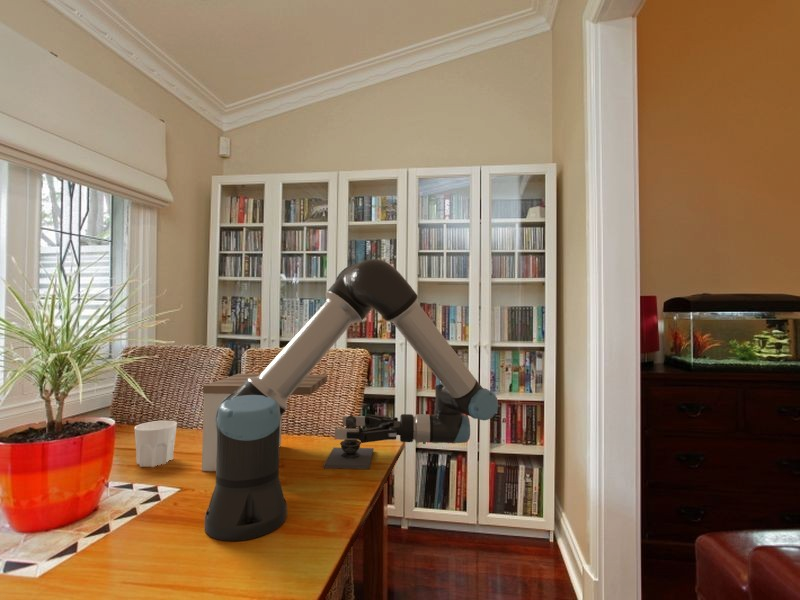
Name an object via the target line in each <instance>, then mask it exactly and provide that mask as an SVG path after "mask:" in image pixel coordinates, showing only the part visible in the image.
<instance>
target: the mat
mask: <svg viewBox="0 0 800 600" xmlns="http://www.w3.org/2000/svg"><path fill="white" fill-rule="evenodd" d="M373 451H374V447H359V450H358V451H357V453H358V454H360V456H359V457H358V458H355V459H345V458H342V457H341V455H342V454H343V453H345V452H344V451H343V450H342V448H341V447H335V446H334V447H333V448H332V450H331V451H330V453H329V455H328V457H327V458H326V460H325V462H324V464H323V469H339V468H343V469H345V470H346V469H347V470H349V469H352V470H370V467H371V463H372V458H373V456H374V455H373V454H374V452H375V451H374V452H373ZM372 455H373V456H372ZM343 469H342V470H343Z"/></svg>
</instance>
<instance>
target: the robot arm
mask: <svg viewBox="0 0 800 600" xmlns="http://www.w3.org/2000/svg"><path fill="white" fill-rule="evenodd" d="M325 298H326V299H325V302H324V303H323V304H322V305H321V306H320V307H319V308H318V310H316V312H315V313H314V314H313V315H312V316H311V318H310V319H309V320H308V321H307V322H306V323H305V324H304V325H303V326H302V327H301V329H300V330H299V331H298V332H297V333H296V334H295V335H294V336H293V337H292V339H291V340H290V341H288V343H287V344H286V345H285V346H284V347H283V349H282V350H280V352H279V353H278V354H277V355H276V356H275V357H274V359H272V361H271V362H270V363H269V364H268V365H267V366H266V367H265V368H264V369H263V370H262V372H261V373H259V374H260V375H259V376H257V377H249V378H248V379H247V380H246V381H245V382H244V383H243V384H242V385H241V386H240V387H239V388H238V390H237V391H235V392H234V393H232V394H230V395H229V396H228V397H226V398H225V399H224V400H223V402H222V403H221V404H220V406H219V408H218V411H217V415H216V428H217V459H216V471H215V486H214V490H213V492H212V494H211V498H210V501H209V505H208V508H207V509H206V512H205V514H204V532H205V533H206V534H207V535H208V536H209V537H210V538H213V539H214V540H215V539H216V540H219V541H224V542H226V541H228V542H235V541H236V542H237V541H238V542H239V541H240V542H241V541H246V540H251V539H256V538H259V537H263V536H266V535H268V534H270V533H272V532H275V531H276V530H277V529H279V527H281V526H282V525H283V524H284V523H285V521H286V520H287V517H288V513H287V512H288V503H287V501H286V498H285V496H284V491H283V488H282V485H281V481H280V478H279V475H280V473H279V472H280V470H279V469H280V448H279V433H280V420H281V421H282V418H281V415H283V414H284V413H285V412H286V410H288V402H287V401H288V399H289V397H291V396H292V395H291V394H292V393H293V391H294V390H295V389H296V388H297V387H298V386H299V384H300V383H301V382H302V381H303V380H304V379H305V377H306V376H307V375H310V373H311V371H312V370H313V369H314V368H315V367H316V366H317V365H318V364H319V362H320V361H321V360H322V358H324V357H325V355H326V354H327V353H328V352H329V351H330V349H331V348H333V346H334V345H335V343H336V342H337V341H338V340H339V339H340V338H341V337H342V336H343V334H344V333H345V332H346V331H347V330H348V328H349V327H350V326H351V325H352V324H358V323H359V324H360V323H361V322H362V321H363V320H364V319H365V318H366V317H367V316H368V314H369V313H370V312H371V311H372V310H375V311H376V312H377V313H378V314H379V315H380V316H381V317H382V319H384V321H386V322H390V323H393V325H394V326H395V327H396V329H397V330H398V331H399V332H400V334H401V335H402V336H403V337H404V338H405V340H406V341H407V342H408V344H409V345H410V346H411V347H412V348H413V350H414V351H415V353H416V354H417V355H418V357H420V359H421V360H422V361H423V363H424V364H425V365H426V367H427V368H428V369H429V370H430V371H431V372H432V374H433V375H434V376H435V385H434V390H435V392H434V393H435V394H434V395H435V414H428V413H427V414H424V413H423V414H422V413H421V414H415V416H414V415H413V414H410V413H409V414H408V413H406V414H405V413H403V414H402V413H401V414H400V417H399V418H398V417H397V416H396V417H395V416H394V417H390V416H386V415H385V416H384V415H379V414H378V415H377V414H371V413H369V414H368V415H365V416H364V415H359V416H358V415H353V416H354V417H355V418H356V427H359V428H357V429H345V428H334V440H339V441H340V440H342V441H344V440H358V441H360V442H361V444H366V443H370V442H371V443H373V442H380V441H389V440H393V441H395V440H397V436H399V441H400V442H401V443H413V442H414V441H415V443H422V444H423V445H426V444H427V443H437V444H438V443H439V444H443V443H444V444H463V443H464V444H465V443H467V442H468V441H469V440H470V437H471V422H470V418H469V417H471V418H472V419H476V420H481V421H489V420H491V419H492V418H493V417H494V416H495V415H496V414H497V411H498V408H499V401H498V397H497V395H496V394H495V393H494V392H493V391H491V390H489V389H487V388H485V387H482V385H481V383H480V382H479V381H478V380H477V379H476V377H475V376H474V375H473V373H472V372H471V371H470V370H469V369H468V367H467V366H466V365H465V363H464V362H463V361H462V359H461V357H460V356H459V355H458V354H457V353H456V351H455V350H454V348H453V347H452V346H451V344H449V342H448V340H447V339H446V338H445V337H444V335H443V334H442V333H441V332H440V330H439V329H438V328H437V326H436V324H434V322H433V321H432V320H431V319H430V317H429V316H428V315H427V313H426V312H425V311H424V309H423V307H421V305H420V304H419V302H418V300H419V296H418V294H417V293H416V291H414V289H413V288H412V285H410V284H409V283H408V281H407V280H406V279H405V278H404V276H403V275H402V274H401V273H400V272H399V271H398V270H397V268H395V267H394V266H393V265H391V264H390V263H388V262H387V261H384V260H382V259H375V258H371V259H365V260H364V261H361V262H359V263H353V264H351V265H348V266H346V267H345V268H343V269H342V270H341V271H340V273H338V275H337V277H336V278H335V280H334V283H333V284H332V285H331V286H330V287H329V288H328V289H327V291H326V292H325ZM348 416H349V415H342V426H344V427H346V418H347V417H348ZM399 419H400V420H399ZM363 427H365V429H364V428H363ZM368 427H370V428H368Z"/></svg>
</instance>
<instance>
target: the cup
mask: <svg viewBox="0 0 800 600" xmlns="http://www.w3.org/2000/svg"><path fill="white" fill-rule="evenodd" d="M177 426H178V422H177V421H174V420H155V421H148V422H143V423H140V424H137V425H135V426H134V429H133V430H134V440H135V456H136V458H135V461H136V465H139V467H140V468H143V467H144V468H146V467H148V468H149V467H151V468H154V467H156V466H157V465H158V466H161V464H162V465H167V463H169V462H170V461H169V460H171V461H173V460H174V453H175V451H174V450H175V444H176V442H175V441H176V435H177ZM172 459H173V460H172ZM168 461H169V462H168ZM166 462H167V463H166Z"/></svg>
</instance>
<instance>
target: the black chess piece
mask: <svg viewBox="0 0 800 600" xmlns="http://www.w3.org/2000/svg"><path fill="white" fill-rule="evenodd" d="M347 416H348V417H347V418H346V426H345V427H344V429H358V428H357V426H356V418H355V417H354V416H355V415H353V414H352V412H350V414H349V415H347ZM339 444H340V448H342V450H343V451H344V452H345V453H343V454H342V455H341V457H342V458H345V459H355V458H358V457H359V456H360V454H358V453H357V451H358V450H359V448H361V445H362V443H361V441H360V440H342V441H340V442H339Z"/></svg>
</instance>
